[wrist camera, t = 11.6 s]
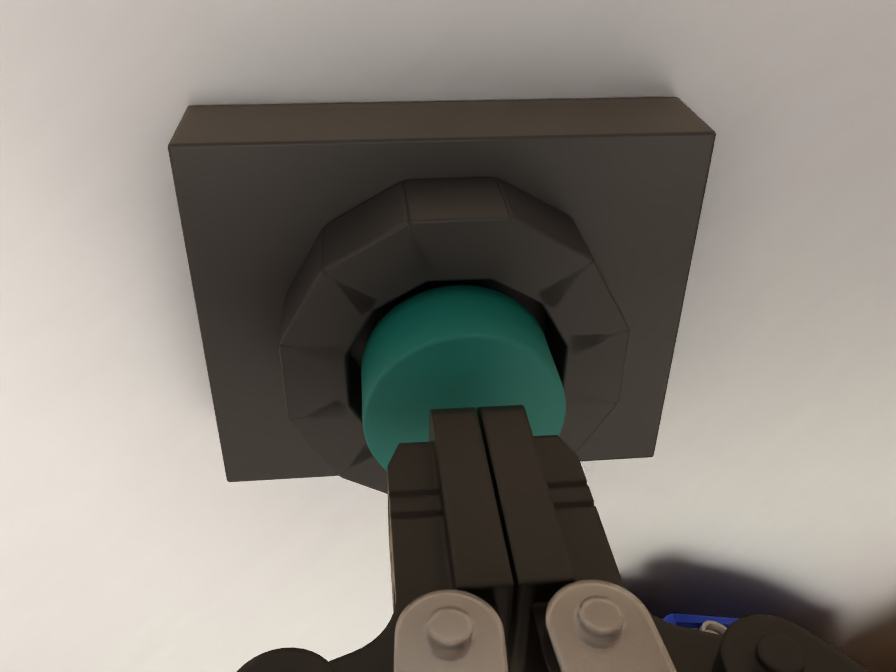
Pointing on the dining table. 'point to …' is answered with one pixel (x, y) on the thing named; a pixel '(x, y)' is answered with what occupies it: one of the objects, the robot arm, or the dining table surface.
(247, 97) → the dining table surface
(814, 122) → the dining table surface
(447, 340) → the button
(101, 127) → the dining table surface
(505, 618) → the robot arm
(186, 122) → the button box
